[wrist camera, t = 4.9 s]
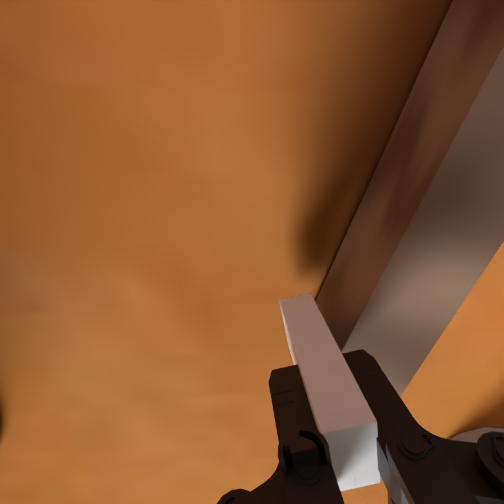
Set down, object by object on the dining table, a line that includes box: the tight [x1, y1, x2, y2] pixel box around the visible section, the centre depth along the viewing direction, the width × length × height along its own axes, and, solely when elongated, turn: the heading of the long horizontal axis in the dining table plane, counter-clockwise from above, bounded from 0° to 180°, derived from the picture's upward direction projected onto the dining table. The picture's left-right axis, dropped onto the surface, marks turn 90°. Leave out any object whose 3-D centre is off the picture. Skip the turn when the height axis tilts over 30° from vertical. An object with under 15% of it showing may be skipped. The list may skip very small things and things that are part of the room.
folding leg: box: [315, 0, 504, 396], centre depth 12 cm, size 22×4×5 cm, turn 162°
